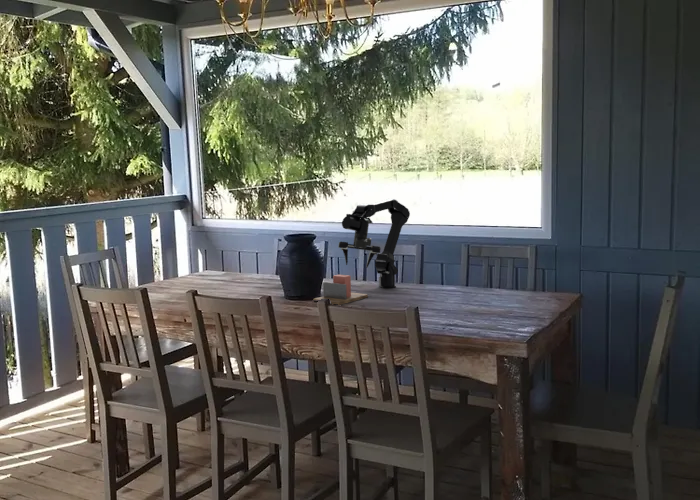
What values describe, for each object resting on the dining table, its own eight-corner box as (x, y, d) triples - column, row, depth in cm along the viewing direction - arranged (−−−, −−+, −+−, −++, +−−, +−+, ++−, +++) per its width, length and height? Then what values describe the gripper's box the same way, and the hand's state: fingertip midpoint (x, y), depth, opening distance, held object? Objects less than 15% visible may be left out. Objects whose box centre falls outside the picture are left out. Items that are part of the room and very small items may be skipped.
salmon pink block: (339, 294, 307) (338, 274, 306) (351, 296, 303) (350, 275, 302) (333, 296, 304) (333, 275, 303) (345, 297, 300) (344, 277, 299)
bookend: (325, 296, 304) (324, 281, 303) (346, 299, 297) (346, 284, 296) (323, 296, 303) (323, 282, 302) (345, 299, 296) (344, 284, 295)
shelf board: (342, 293, 315) (342, 291, 315) (367, 297, 307) (367, 294, 307) (313, 301, 300) (313, 298, 300) (338, 305, 291) (338, 302, 291)
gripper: (341, 228, 306) (337, 263, 306) (383, 234, 308) (379, 269, 307) (340, 229, 318) (335, 263, 317) (381, 235, 319) (376, 269, 318)
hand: (356, 266), depth 315 cm, fingers open, 9 cm apart
